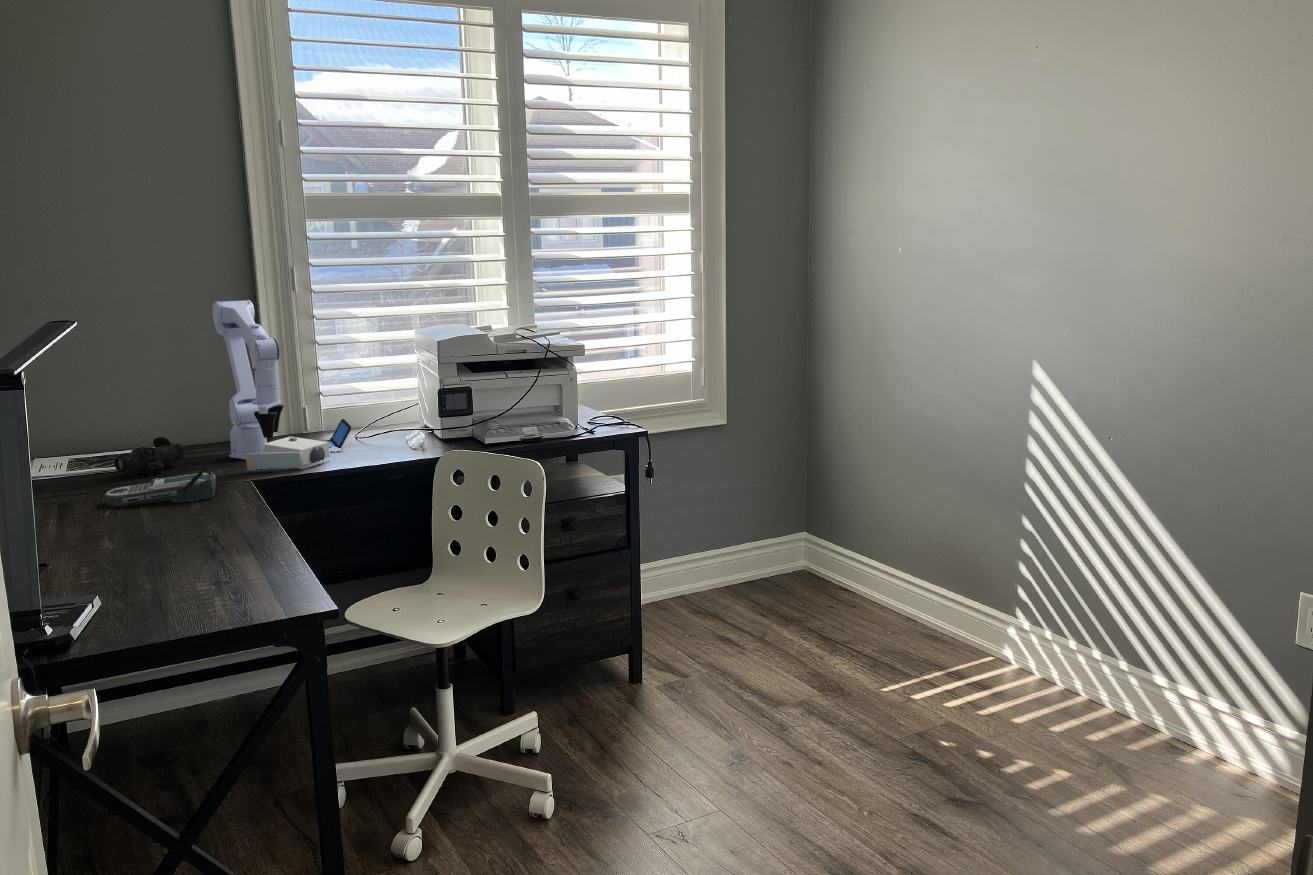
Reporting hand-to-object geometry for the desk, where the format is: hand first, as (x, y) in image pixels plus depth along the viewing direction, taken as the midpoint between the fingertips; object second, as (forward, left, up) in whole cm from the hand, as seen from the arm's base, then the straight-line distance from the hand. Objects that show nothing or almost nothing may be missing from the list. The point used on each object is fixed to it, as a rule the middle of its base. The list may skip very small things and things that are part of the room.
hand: (270, 434), depth 262 cm
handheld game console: (-3, +25, -10) cm, 27 cm away
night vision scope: (-25, -17, -10) cm, 32 cm away
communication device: (-3, -32, -10) cm, 34 cm away
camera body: (+1, +8, -9) cm, 12 cm away
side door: (+3, -2, -9) cm, 9 cm away
